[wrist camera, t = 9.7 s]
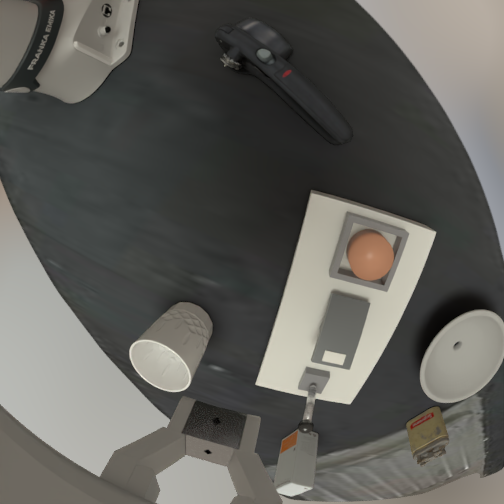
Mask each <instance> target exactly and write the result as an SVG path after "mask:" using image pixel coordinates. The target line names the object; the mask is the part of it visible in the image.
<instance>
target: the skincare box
mask: <svg viewBox="0 0 504 504" xmlns="http://www.w3.org/2000/svg"><path fill="white" fill-rule="evenodd" d="M317 446H318V433H315V432H312V431H311V432H310V433H307V434H304V433H301V432H300V431H299V429H297V430H296V431H294V432H293V433H291V434H290V435H288V436H287V437H285V438H284V439H282V444H281V449H280V454H279V459H278V464H277V469H276V474H275V479H274V484H273V485H274V487H275V488H276V490H277V492H278V493H280V494H284V495H288V496H294V495H297V494H301V493H303V492H305V491H307V490H310V489H312V488H313V487H314V478H315V468H316V457H317Z"/></svg>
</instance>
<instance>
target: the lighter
mask: <svg viewBox="0 0 504 504" xmlns="http://www.w3.org/2000/svg"><path fill="white" fill-rule="evenodd" d="M406 427H407V431H408V436H409V441H410V446H411V452H412V455H413V459H414V460H417V464H420V465H421V467H423V466H425V464H426V463H428V462H430V461H432V460H433V459H435V458H437V457H439V456H442V455H444V454H446V451H445V450H444V449H445V446H447V445H448V443H449V438H448V433H447V430H446V427H445V424H444V420H443V417H442V414H441V411H440V408H439V407H432V408H430V409H428V410H426V411H425V412H423V413H422V414H420V415H418V416H416V417H415V418H413V419H411V420H410V421H408V422H407V424H406ZM438 454H439V455H438ZM436 455H438V456H436ZM435 456H436V457H435ZM427 460H429V461H427ZM425 461H427V462H425Z"/></svg>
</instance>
